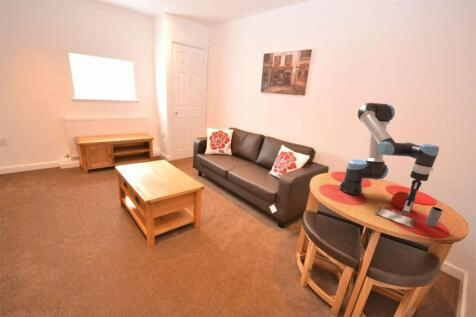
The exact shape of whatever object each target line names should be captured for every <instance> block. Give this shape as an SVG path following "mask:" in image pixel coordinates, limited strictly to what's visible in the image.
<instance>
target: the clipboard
mask: <svg viewBox="0 0 476 317" xmlns="http://www.w3.org/2000/svg"><path fill="white" fill-rule="evenodd" d="M374 215H375V216H379V217H381V218H383V219H386V220H389V221H392V222H393V223H396V224H399V225H402V226H404V227H405V228H410V229H412V230H413V229H414V225H415V221H416V219H415V218H412V217H410V216H408V215H406V214H403V213H401V212H400V211H396V210H393V209H392V210H391V209H388V208H384V207H382V206H379V207H378V209H377V211H376V212H375V213H374Z"/></svg>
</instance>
